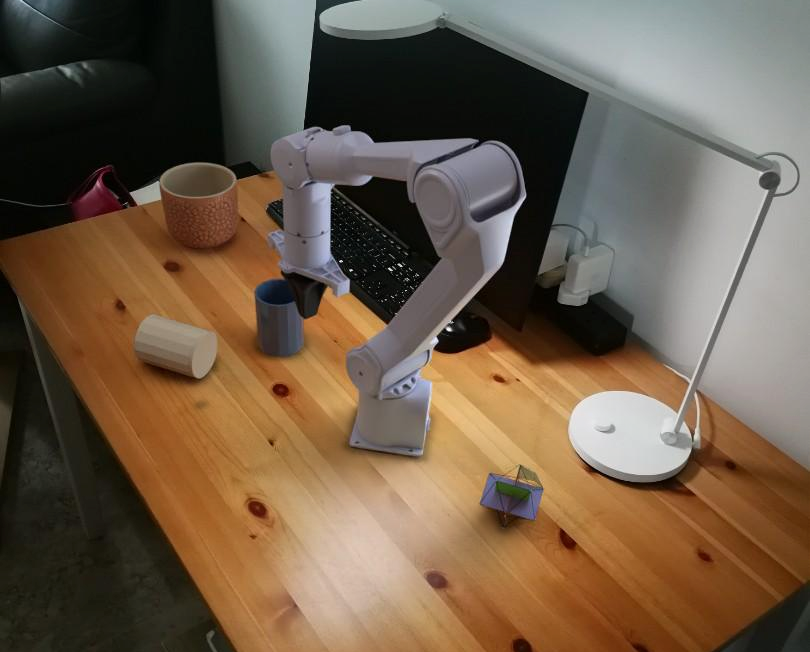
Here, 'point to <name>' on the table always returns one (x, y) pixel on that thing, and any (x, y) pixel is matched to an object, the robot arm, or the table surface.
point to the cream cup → (175, 346)
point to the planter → (200, 204)
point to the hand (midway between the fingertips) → (308, 314)
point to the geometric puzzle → (513, 494)
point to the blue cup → (278, 319)
